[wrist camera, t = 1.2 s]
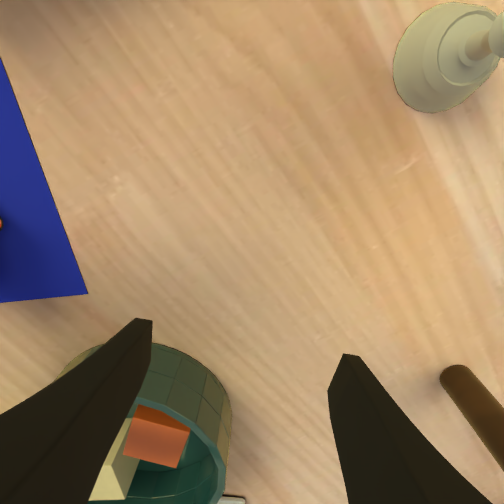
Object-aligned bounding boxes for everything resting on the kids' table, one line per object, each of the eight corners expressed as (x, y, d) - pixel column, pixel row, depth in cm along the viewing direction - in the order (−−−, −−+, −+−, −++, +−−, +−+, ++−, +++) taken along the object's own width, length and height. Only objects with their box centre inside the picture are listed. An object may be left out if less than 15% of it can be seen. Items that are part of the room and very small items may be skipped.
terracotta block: (188, 420, 26) (176, 468, 22) (142, 407, 25) (122, 455, 21) (201, 386, 24) (189, 432, 20) (152, 373, 24) (132, 417, 20)
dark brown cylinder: (465, 389, 24) (573, 525, 16) (435, 386, 24) (527, 521, 16) (475, 365, 23) (596, 496, 15) (444, 363, 23) (547, 493, 15)
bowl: (228, 475, 29) (221, 540, 24) (71, 463, 29) (35, 526, 24) (236, 348, 23) (230, 401, 19) (41, 333, 23) (-13, 382, 19)
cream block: (143, 449, 27) (125, 499, 23) (101, 451, 27) (76, 501, 24) (132, 417, 26) (111, 465, 22) (88, 419, 26) (59, 467, 22)
